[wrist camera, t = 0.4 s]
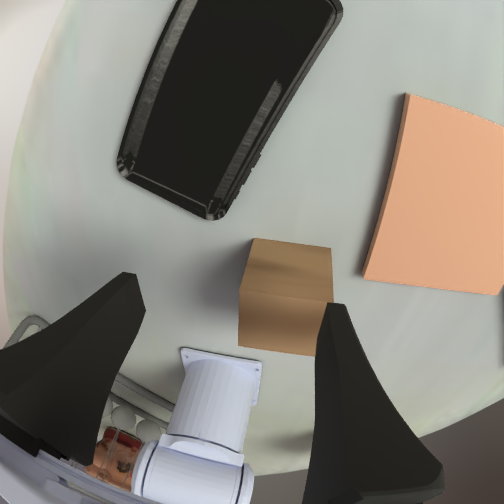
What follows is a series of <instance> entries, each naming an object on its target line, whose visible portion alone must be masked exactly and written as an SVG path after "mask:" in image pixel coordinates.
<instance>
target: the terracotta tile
mask: <svg viewBox="0 0 504 504" xmlns="http://www.w3.org/2000/svg"><path fill="white" fill-rule="evenodd" d="M362 274H363V279H366V280H374V281H382V282H390V283H398V284H406V285H414V286H422V287H431V288H439V289H447V290H456V291H464V292H473V293H481V294H490V295H498V293H499V291H500V290H501V288H502V286H503V285H504V126H501V125H499V124H497V123H494V122H492V121H489V120H487V119H484V118H482V117H479V116H477V115H474V114H472V113H469V112H466V111H463V110H461V109H458V108H455V107H452V106H449V105H446V104H443V103H440V102H437V101H433V100H430V99H427V98H423V97H420V96H416V95H413V94H409V93H406V94H405V101H404V107H403V112H402V118H401V123H400V129H399V134H398V139H397V143H396V148H395V153H394V157H393V162H392V166H391V171H390V175H389V179H388V183H387V187H386V191H385V195H384V199H383V203H382V206H381V210H380V214H379V217H378V221H377V224H376V228H375V231H374V235H373V238H372V241H371V245H370V248H369V251H368V254H367V258H366V261H365V264H364V267H363V270H362Z"/></svg>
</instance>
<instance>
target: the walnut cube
mask: <svg viewBox="0 0 504 504" xmlns="http://www.w3.org/2000/svg"><path fill="white" fill-rule="evenodd" d="M327 302H330V303H334V299H333V275H332V257H331V248H326V247H319V246H311V245H304V244H297V243H289V242H282V241H274V240H266V239H259V238H254V240H253V244H252V247H251V251H250V254H249V258H248V261H247V265H246V268H245V272H244V275H243V279H242V282H241V285H240V289H239V325H238V346H243V347H249V348H255V349H262V350H269V351H276V352H283V353H290V354H298V355H306V356H315V354H316V342H317V336H318V333H319V330H320V326H321V323H322V319H323V316H324V312H325V309H326V305H327Z"/></svg>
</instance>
